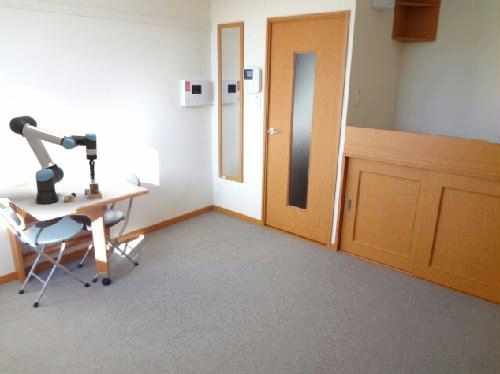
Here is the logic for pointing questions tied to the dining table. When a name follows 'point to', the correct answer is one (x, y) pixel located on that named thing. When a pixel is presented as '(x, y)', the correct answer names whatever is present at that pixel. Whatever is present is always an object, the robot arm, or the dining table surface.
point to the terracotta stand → (94, 195)
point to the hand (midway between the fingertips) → (92, 181)
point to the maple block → (68, 198)
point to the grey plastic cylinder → (86, 191)
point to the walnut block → (94, 188)
